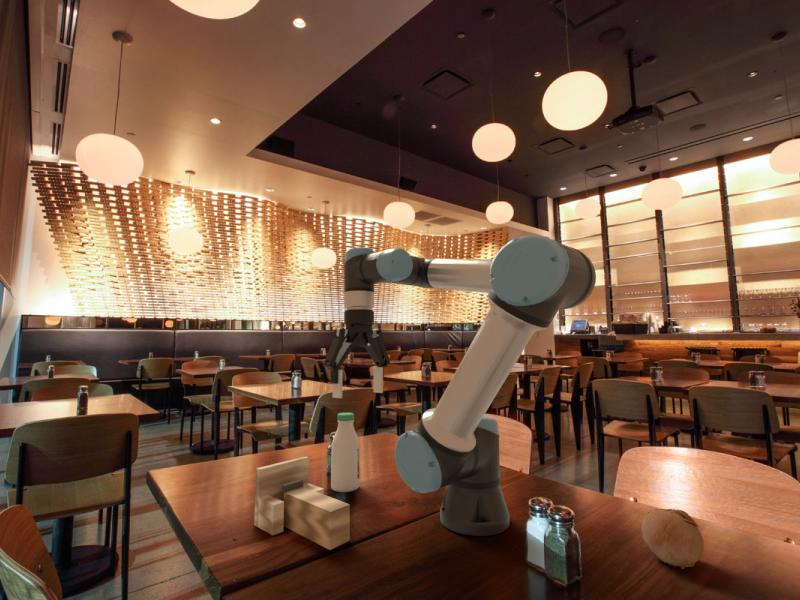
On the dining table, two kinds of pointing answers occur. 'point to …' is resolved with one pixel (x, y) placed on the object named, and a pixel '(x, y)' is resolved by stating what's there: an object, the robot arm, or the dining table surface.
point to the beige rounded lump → (672, 537)
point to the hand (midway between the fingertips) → (358, 395)
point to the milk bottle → (345, 455)
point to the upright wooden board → (277, 491)
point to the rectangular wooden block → (315, 515)
